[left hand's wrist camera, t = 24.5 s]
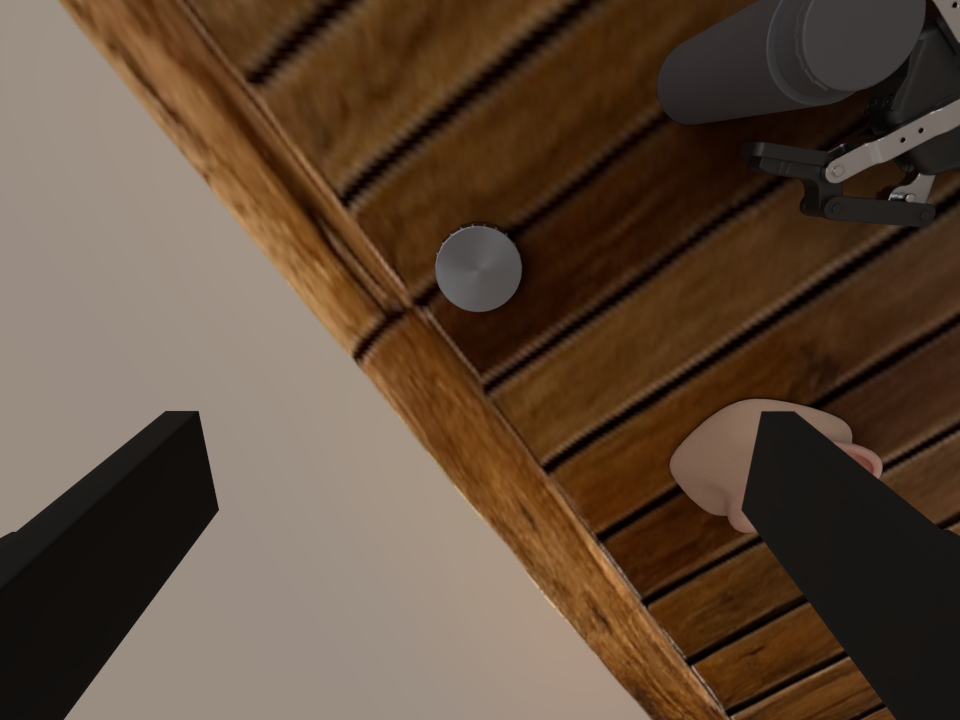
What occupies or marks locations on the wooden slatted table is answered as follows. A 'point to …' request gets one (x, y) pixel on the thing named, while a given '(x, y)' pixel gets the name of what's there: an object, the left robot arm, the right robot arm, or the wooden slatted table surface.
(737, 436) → the anatomical model
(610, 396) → the wooden slatted table surface
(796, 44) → the dark grey cylinder
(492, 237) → the lid
